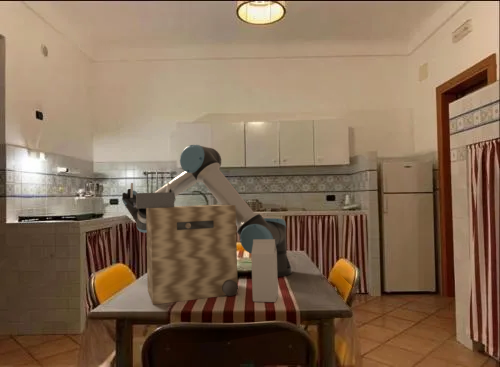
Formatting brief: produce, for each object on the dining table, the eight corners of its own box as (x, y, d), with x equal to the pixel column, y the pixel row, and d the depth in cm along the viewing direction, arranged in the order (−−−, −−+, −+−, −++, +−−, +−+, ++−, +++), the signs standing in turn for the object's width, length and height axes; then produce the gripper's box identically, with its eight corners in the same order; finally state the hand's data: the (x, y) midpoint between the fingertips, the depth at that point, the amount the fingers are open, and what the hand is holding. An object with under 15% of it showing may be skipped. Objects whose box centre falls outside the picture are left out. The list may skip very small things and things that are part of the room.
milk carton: (275, 302, 113) (273, 240, 114) (252, 302, 115) (250, 240, 115) (278, 296, 120) (276, 238, 121) (256, 295, 122) (255, 238, 122)
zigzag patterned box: (222, 282, 142) (220, 204, 143) (239, 295, 123) (237, 205, 124) (147, 291, 132) (146, 207, 133) (153, 306, 113) (151, 208, 114)
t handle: (164, 205, 151) (163, 193, 151) (174, 207, 123) (174, 192, 123) (133, 206, 147) (133, 194, 147) (136, 208, 119) (136, 193, 119)
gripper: (176, 218, 161) (183, 194, 144) (116, 220, 152) (115, 194, 135) (175, 203, 164) (182, 178, 147) (116, 203, 156) (116, 177, 139)
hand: (150, 186), depth 141 cm, fingers open, 13 cm apart
